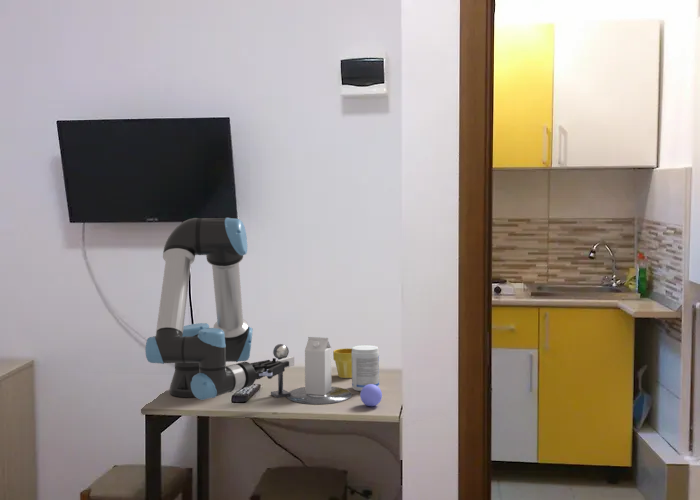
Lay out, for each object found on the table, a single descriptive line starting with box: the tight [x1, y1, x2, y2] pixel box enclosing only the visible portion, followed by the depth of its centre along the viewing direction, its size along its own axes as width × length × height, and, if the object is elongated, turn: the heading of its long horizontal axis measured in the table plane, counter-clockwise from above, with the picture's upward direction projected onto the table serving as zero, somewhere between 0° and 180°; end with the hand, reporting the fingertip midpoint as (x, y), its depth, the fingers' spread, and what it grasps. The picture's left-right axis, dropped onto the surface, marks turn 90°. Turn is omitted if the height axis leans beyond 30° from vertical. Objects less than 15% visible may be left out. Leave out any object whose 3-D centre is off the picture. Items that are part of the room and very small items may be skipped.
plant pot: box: [332, 347, 352, 379], centre depth 271 cm, size 10×10×10 cm
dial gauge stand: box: [270, 343, 291, 399], centre depth 244 cm, size 5×6×18 cm
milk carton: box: [304, 336, 332, 395], centre depth 246 cm, size 7×7×19 cm
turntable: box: [286, 385, 353, 405], centre depth 245 cm, size 22×22×1 cm
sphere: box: [359, 384, 383, 407], centre depth 232 cm, size 7×7×7 cm
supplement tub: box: [351, 344, 380, 392], centre depth 253 cm, size 10×10×15 cm
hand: (292, 360), depth 233 cm, fingers closed
